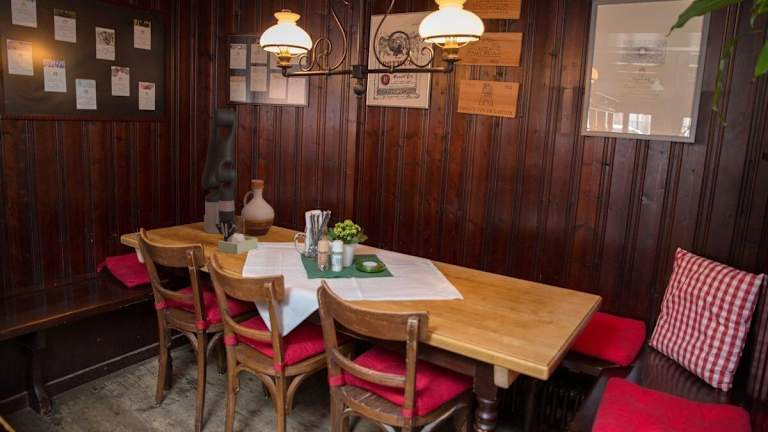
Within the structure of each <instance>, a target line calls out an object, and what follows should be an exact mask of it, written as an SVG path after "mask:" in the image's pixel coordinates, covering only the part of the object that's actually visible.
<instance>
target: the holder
mask: <svg viewBox="0 0 768 432" xmlns="http://www.w3.org/2000/svg"><path fill="white" fill-rule="evenodd" d="M244 238H245V240H246V241H243V242H240V243H231V242H225V241H223V240H218V241H217V243H218V244H217V249H218V252H219V253H226V254H227V253H228V254H233V255H240V254H244V253H246V252H249V251H253V250H255V248H256V249H258V248H259V247H258V242H259V241H258V240H259V239H258V237H253V236H251V237H250V236H246V235H245V236H244ZM252 249H253V250H252Z"/></svg>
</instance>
